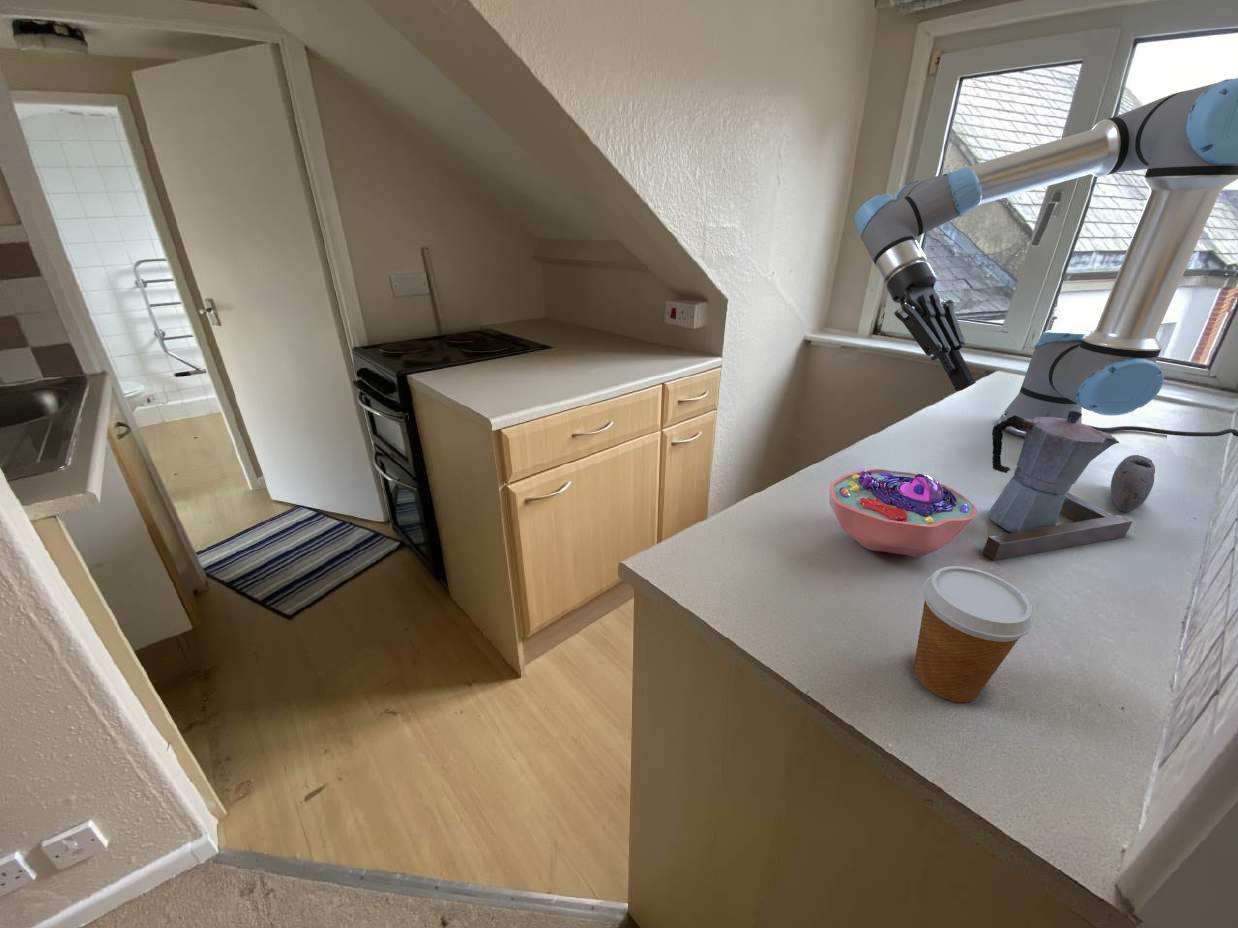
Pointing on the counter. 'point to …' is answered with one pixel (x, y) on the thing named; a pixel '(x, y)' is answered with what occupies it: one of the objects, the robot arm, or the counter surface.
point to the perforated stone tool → (1132, 482)
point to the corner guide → (1060, 532)
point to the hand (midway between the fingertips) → (966, 387)
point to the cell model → (899, 511)
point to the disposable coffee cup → (967, 630)
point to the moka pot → (1043, 468)
